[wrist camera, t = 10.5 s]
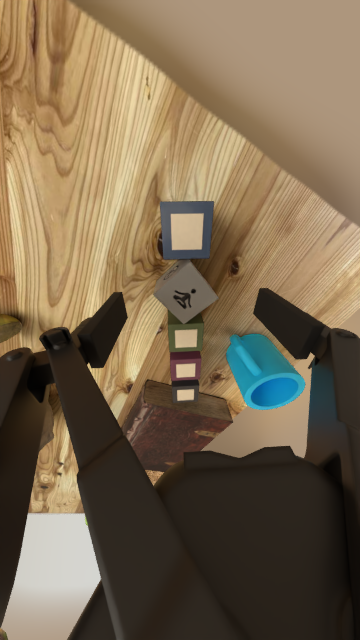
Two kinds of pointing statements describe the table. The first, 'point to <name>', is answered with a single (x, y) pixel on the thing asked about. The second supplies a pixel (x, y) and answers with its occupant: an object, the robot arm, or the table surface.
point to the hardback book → (172, 425)
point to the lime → (8, 327)
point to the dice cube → (184, 290)
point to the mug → (263, 372)
